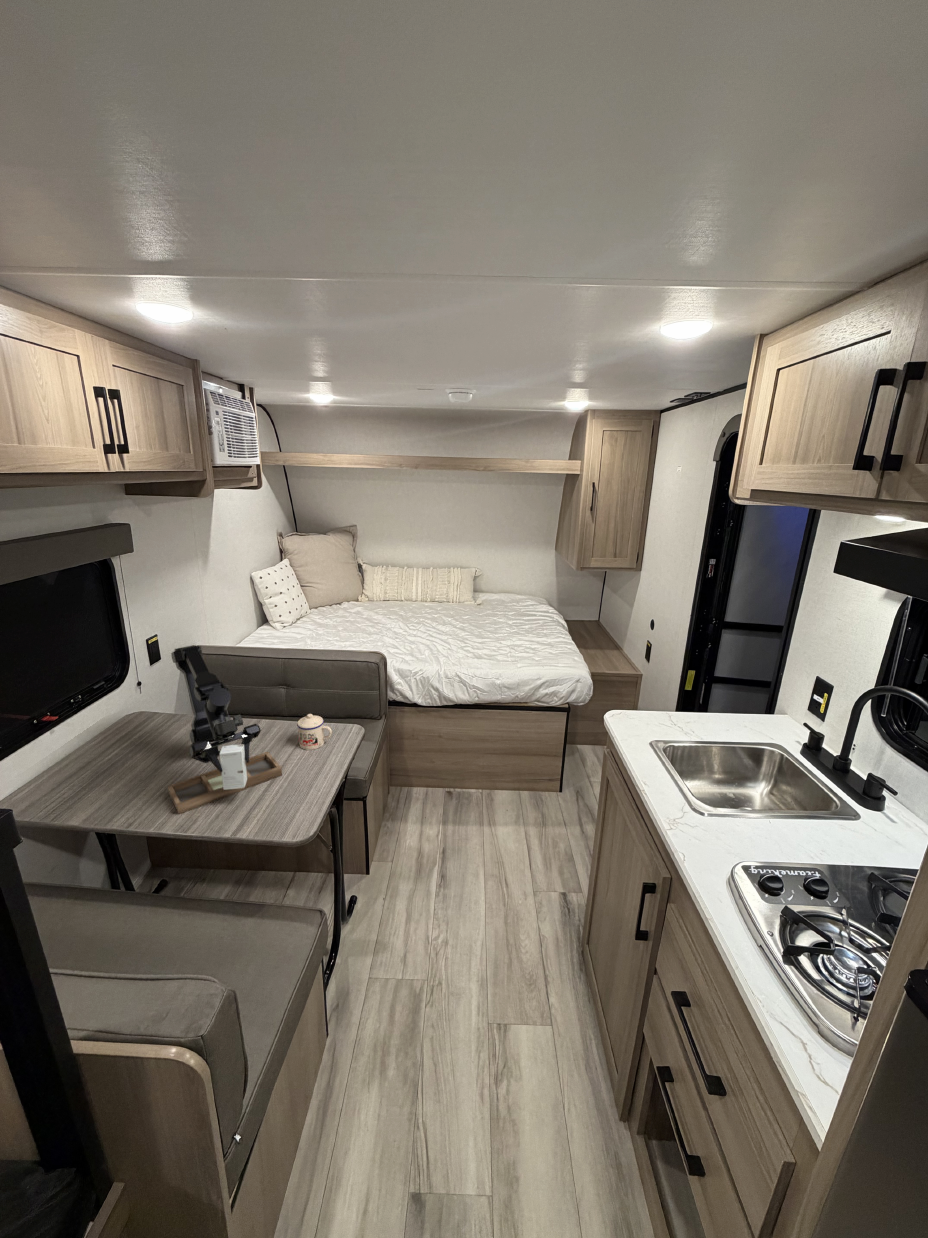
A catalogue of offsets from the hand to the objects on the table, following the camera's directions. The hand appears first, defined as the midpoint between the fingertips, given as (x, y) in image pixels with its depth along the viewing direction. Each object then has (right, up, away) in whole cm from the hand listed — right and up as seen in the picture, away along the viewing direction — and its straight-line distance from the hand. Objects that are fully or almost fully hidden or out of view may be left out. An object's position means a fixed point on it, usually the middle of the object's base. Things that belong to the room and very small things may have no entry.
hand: (235, 767), depth 146 cm
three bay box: (-8, -9, +12) cm, 17 cm away
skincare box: (-1, -6, +3) cm, 7 cm away
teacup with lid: (+13, -2, +35) cm, 38 cm away
